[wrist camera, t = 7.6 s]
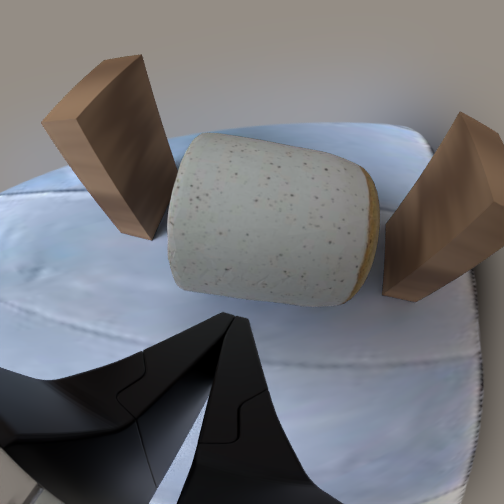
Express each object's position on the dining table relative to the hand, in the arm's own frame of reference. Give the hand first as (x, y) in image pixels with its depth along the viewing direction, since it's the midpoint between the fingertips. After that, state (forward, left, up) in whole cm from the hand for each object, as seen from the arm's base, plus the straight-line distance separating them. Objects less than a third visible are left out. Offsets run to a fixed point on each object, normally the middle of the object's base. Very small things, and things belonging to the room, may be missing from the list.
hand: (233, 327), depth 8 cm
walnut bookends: (+6, -3, -6) cm, 9 cm away
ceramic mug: (+6, -3, -7) cm, 10 cm away
